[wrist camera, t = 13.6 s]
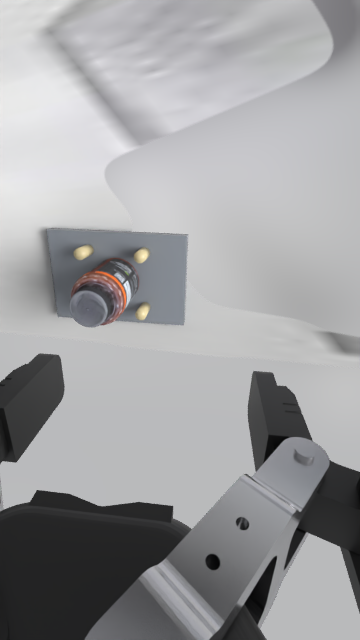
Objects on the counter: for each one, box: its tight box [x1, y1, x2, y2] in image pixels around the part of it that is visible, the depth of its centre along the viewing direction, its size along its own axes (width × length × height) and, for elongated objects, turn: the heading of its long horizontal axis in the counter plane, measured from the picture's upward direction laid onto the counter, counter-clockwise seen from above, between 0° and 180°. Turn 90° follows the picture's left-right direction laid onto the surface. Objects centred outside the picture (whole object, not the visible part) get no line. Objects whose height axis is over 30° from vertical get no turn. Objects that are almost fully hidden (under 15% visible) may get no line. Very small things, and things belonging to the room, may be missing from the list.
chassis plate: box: [47, 228, 188, 325], centre depth 41 cm, size 12×18×4 cm, turn 88°
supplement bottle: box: [69, 258, 139, 327], centre depth 36 cm, size 6×6×11 cm
